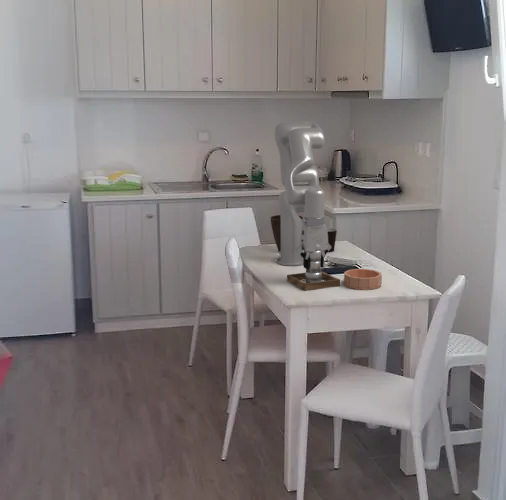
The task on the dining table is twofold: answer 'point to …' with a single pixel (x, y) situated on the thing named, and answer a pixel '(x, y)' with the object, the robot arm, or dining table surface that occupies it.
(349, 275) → the terracotta bowl
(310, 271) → the grey metal bulbous cylinder
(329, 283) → the brown picture frame
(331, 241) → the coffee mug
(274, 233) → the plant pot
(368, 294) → the dining table surface
